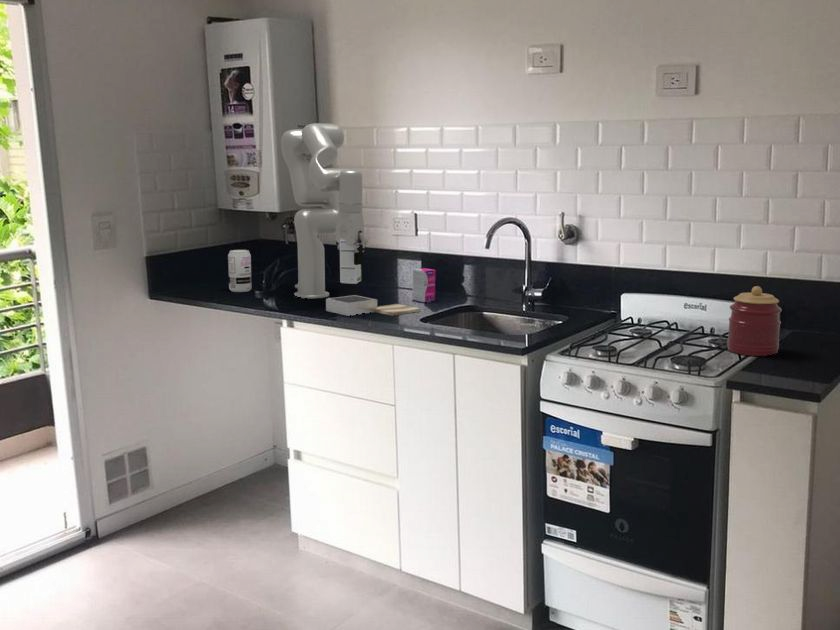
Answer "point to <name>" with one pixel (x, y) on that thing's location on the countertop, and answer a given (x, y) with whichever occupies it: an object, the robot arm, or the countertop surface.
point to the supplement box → (423, 285)
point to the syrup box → (348, 264)
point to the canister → (754, 324)
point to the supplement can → (239, 270)
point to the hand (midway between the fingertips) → (350, 262)
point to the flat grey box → (351, 305)
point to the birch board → (396, 309)
